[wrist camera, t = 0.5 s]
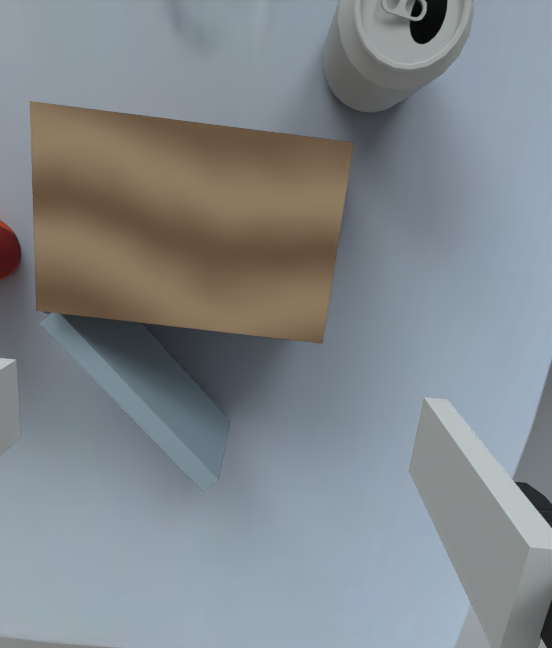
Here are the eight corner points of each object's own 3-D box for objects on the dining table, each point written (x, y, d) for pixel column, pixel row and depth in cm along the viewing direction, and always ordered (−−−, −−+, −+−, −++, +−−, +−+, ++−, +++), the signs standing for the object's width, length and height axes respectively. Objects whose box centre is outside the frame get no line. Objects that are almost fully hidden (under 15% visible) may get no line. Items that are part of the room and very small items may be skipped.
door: (95, 271, 40) (43, 296, 31) (230, 420, 44) (218, 479, 35) (73, 290, 40) (16, 319, 31) (209, 436, 44) (192, 498, 35)
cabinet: (106, 126, 37) (29, 101, 26) (331, 154, 38) (353, 142, 26) (105, 274, 41) (36, 310, 29) (310, 298, 41) (322, 343, 30)
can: (400, 126, 37) (454, 101, 26) (309, 98, 37) (323, 60, 25) (434, 21, 35) (510, -57, 23) (339, -10, 34) (368, -105, 23)
